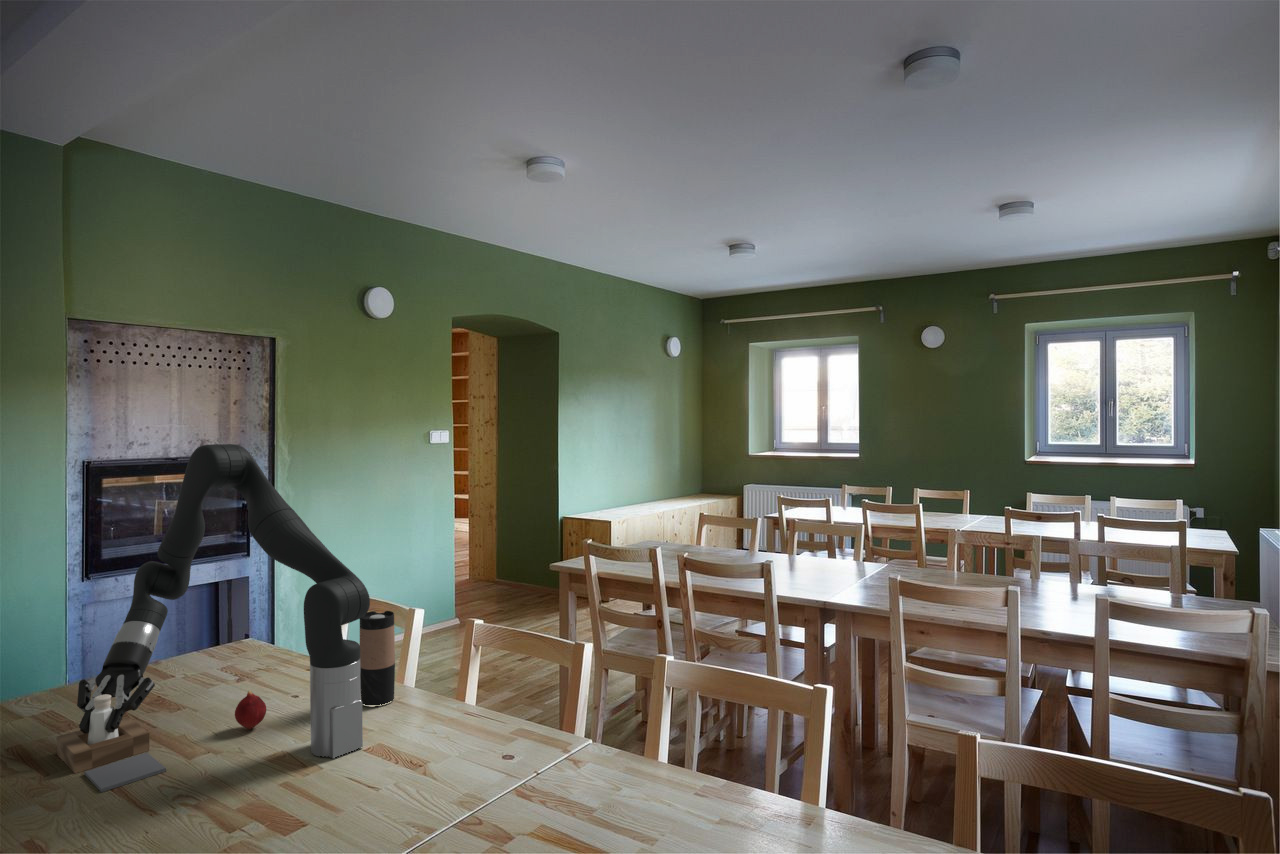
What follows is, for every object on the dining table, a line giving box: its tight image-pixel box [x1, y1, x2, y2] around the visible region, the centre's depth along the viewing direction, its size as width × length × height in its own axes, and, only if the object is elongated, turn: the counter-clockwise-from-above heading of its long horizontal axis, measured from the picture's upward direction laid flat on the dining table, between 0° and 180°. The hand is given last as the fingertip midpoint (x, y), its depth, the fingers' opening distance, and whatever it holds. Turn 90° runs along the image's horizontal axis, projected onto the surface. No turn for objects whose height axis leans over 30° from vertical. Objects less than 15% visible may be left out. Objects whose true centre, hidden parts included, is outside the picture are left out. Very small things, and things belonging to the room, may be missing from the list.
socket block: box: [56, 716, 150, 774], centre depth 145 cm, size 12×12×4 cm
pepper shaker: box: [87, 694, 119, 745], centre depth 145 cm, size 5×5×11 cm
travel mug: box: [359, 610, 396, 705], centre depth 171 cm, size 8×8×20 cm
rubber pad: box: [83, 752, 167, 793], centre depth 137 cm, size 10×10×1 cm
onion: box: [234, 690, 267, 730], centre depth 156 cm, size 6×6×8 cm
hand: (96, 731), depth 143 cm, fingers closed on pepper shaker, 4 cm apart
